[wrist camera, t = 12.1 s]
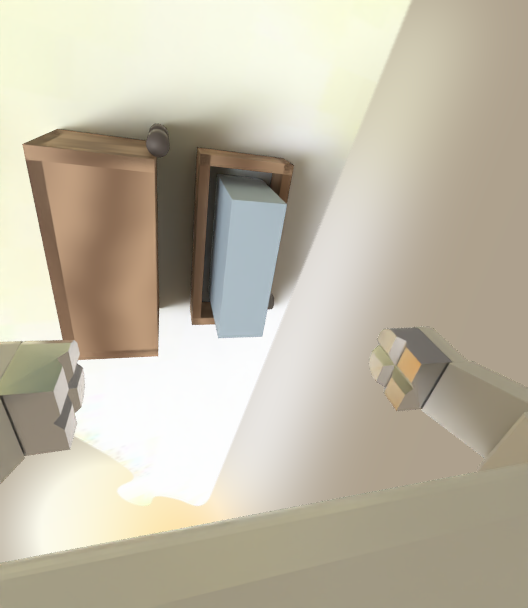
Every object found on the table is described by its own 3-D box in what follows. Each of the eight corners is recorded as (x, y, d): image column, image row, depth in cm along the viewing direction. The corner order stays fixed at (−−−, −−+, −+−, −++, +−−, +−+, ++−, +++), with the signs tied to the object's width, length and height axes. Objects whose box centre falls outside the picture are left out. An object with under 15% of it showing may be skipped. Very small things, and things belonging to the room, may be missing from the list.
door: (271, 179, 31) (299, 205, 24) (253, 291, 37) (272, 336, 30) (217, 173, 29) (232, 199, 23) (208, 291, 35) (218, 338, 29)
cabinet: (286, 141, 29) (318, 156, 23) (257, 307, 38) (275, 350, 32) (53, 107, 24) (16, 115, 18) (84, 309, 33) (67, 360, 27)
